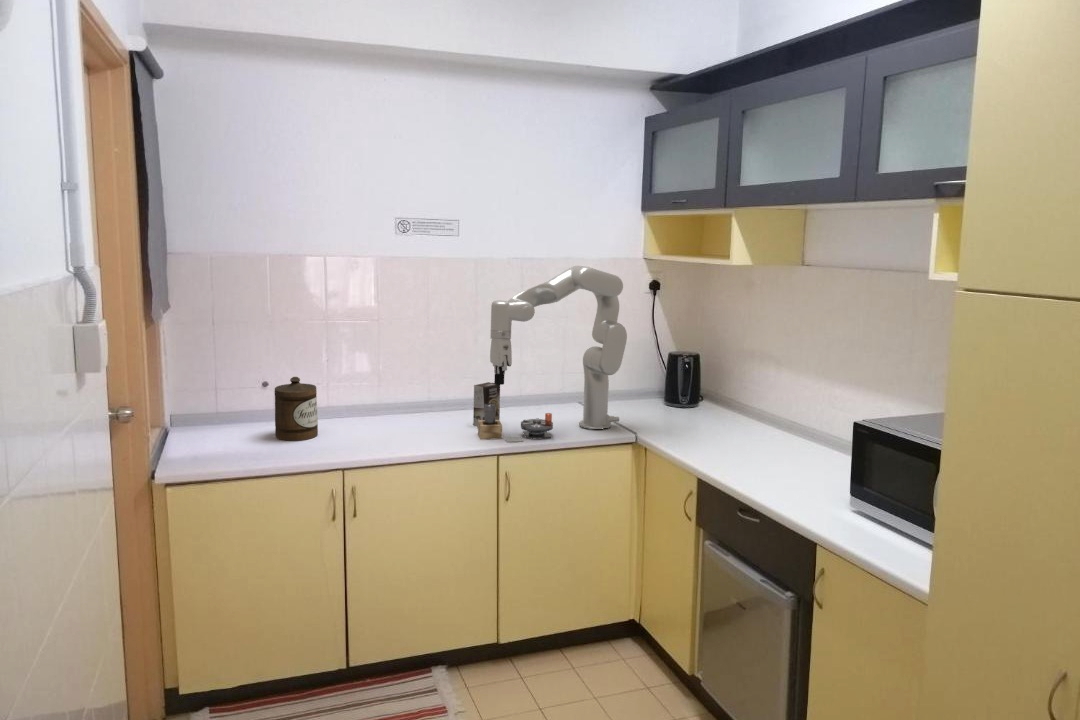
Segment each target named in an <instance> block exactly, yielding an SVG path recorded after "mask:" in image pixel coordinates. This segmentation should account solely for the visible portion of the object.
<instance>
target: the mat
mask: <svg viewBox="0 0 1080 720" xmlns="http://www.w3.org/2000/svg"><path fill="white" fill-rule="evenodd" d="M505 439H506V440H505ZM504 440H505V442H506V441H507V442H506V443H524V439H523V437H522V436H504Z"/></svg>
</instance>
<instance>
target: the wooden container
mask: <svg viewBox="0 0 1080 720" xmlns="http://www.w3.org/2000/svg"><path fill="white" fill-rule="evenodd" d="M289 381H290V382H291V383H286V384H281V385H277V386H276V387H274V424H275V425H274V426H275V432H274V433H275V438H276V439H277V440H279V441H284V442H298V441H306V440H307V441H308V440H311V439H314V438H315V437H317V436H318V434H319V433H318V432H319V428H318V425H319V424H318V423H319V419H318V404H317V403H318V400H317V398H318V397H317V386H316V385H315V384H311V383H301V379H300V377H298V376H292V377H291V378H290V380H289Z"/></svg>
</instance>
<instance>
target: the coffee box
mask: <svg viewBox="0 0 1080 720" xmlns="http://www.w3.org/2000/svg"><path fill="white" fill-rule="evenodd" d="M488 403H492V404H496V413H495V420H499V421H500V422H501V420H500V419H501V418H500V417H501V416H500V412H501V411H500V409H501V407H500V406H501V385H496V384H495V383H494V382H488V381H487V382H483V383H479V384H478V383H477V384H474V385H473V418H472V419H473V420H472V421H473V422H472V423H473V425H474V426H476V425H477V427H478V421H479V420H485V404H488Z"/></svg>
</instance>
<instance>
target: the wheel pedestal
mask: <svg viewBox="0 0 1080 720" xmlns="http://www.w3.org/2000/svg"><path fill="white" fill-rule="evenodd" d="M522 433H524V434H523V436H524V437H525V436H526V437H525V438H526V440H534V439H533V438H546V439H552V436H551V435H550V434H549V431H545V432H530V431H525V430H522ZM530 438H532V439H530Z"/></svg>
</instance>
